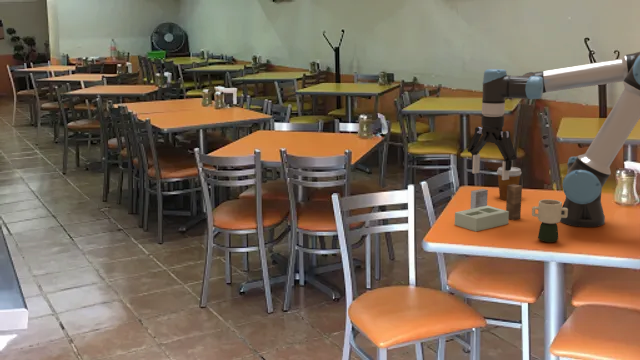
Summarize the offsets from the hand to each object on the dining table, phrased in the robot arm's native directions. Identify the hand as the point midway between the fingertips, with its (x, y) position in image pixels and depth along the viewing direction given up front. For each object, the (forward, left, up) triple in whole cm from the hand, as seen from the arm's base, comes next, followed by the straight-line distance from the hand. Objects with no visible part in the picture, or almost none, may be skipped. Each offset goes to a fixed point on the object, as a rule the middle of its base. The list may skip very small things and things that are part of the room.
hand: (490, 176), depth 253 cm
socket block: (0, +3, -17) cm, 17 cm away
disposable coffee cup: (+20, -33, -17) cm, 42 cm away
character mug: (-26, 0, -17) cm, 31 cm away
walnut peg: (-1, -12, -17) cm, 20 cm away
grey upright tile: (+10, -6, -17) cm, 20 cm away
